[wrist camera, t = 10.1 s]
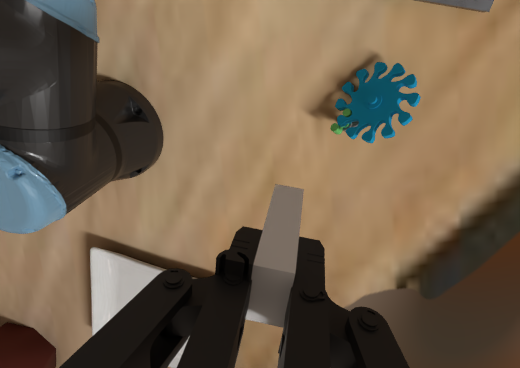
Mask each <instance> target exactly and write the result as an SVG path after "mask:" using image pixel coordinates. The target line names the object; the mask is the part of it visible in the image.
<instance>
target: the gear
mask: <svg viewBox="0 0 520 368" xmlns="http://www.w3.org/2000/svg"><path fill="white" fill-rule="evenodd" d="M386 70H387V65H386V64H385V63H382V62H377V63H376V64H375V67H374V74H373V76H372V77H371V79H370V80H369V81H368V82H366V83H365V80H366V79H367V78H368V75H369V73H368V71H367V70H366V69H361V70H359V71H357V72H356V76H357V77H358V79H359V88H358V90H357V91H356V92H353V91H354V86H353V85H352V83H351V82H347V83H346V84H345V85H344V86H343V87H342V90H343V91H344V92H345V93H346V94H349V95H351V98H352V102H351V103H350V104H348V105H347V103H346V102H345V101H344V100H343V99H338V101H337V102H336V105H335V107H336V108H337V109H338V110H340V111H341V110H344V111H343V115H344V116H343V115H339V116H338V117H337V123H338V124H336V123H334V124H332V125H331V130H332V131H333V132H334V133H336V134H341V133H342V130H343V131H345V132H346V133H347V135H348V136H349V137H350V138H352V139H355V138H356V137H357V136H358V134H359V132H360V131H361V130H362V129H364V128H365V127H367V126H371V128H370V130H369V131H367V132H365V133H364V134H363V135H362V139H363V140H364V141H366V142H368V143H373V142H374V140H375V133H376V130H377V128H378V127H379V126H380V125H381V124H382V123H386V125H385V127H384V128H383V129H382V131H381V134H382V136H383V137H384V138H391V137H394V136H395V131H394V130H393V128H392V126H391V120H392V116H393V115H394V114H396V113H398V114H399V117H398V120H399V122H400V123H401V124H402V125H403V126H405V125H407V124H408V123H409V122H410V121H411V120H412V116H411V115H410V114H409V113H407V112H404V111H402V110H401V109H400V107H399V103H400V102H401V101H402V100H407V102H408V103H409V104H410V106H412V107H415V106H417V105H418V103H419V101H420V98H421V97H420V96H419V94H418V93H411V94H403V93H401V92H399V89H400V88H401V87H403V86H406V87H408V88H414V87H416V86H417V81H416V77H415V76H414V74H411V75H408V76H407V77H406V78H404V79H403V80H400V81H396V82H391V80H392V79H393V78H394V77H398V76H402V75H403V74H404V73H405V70H404V68H403V67H402V65H400V64H399V63H397V64H395V65H394V66H393V68H392V70H391V71H390V72H389V73H388V74H387V75H386V76H384V77H383V78H381V79H378V78H379V76H380V75H381V74H383V73H384V72H386Z"/></svg>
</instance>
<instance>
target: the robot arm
mask: <svg viewBox="0 0 520 368" xmlns="http://www.w3.org/2000/svg"><path fill="white" fill-rule="evenodd" d="M99 40H100V39H99V37H98V36H97V9H96V3H95V0H0V230H2V231H6V232H10V233H18V234H26V233H32V232H35V231H38V230H40V229H42V228H44V227H45V226H47V225H49V224H50V223H52V222H54V221H57V220H59V219H62V218H63V217H64V216H65V215H66V214H67V213H68V212H70V211H71V210H73V209H74V208H75V207H77V206H78V205H79V204H81V203H82V202H83V201H85V200H86V199H87V198H89V197H90V196H92V195H93V194H94V193H96V192H97V191H98V190H100V189H101V188H102V187H104V186H105V185H106V184H108V183H109V182H111V181H116V180H122V179H127V178H132V177H135V176H138V175H140V174H142V173H143V172H145V171H146V170H147V169H149V168H150V167H151V166H152V165H153V164H154V163H155V162H156V161H157V159H158V158H159V156H160V154H161V151H162V147H163V130H162V126H161V122H160V120H159V117H158V115H157V113H156V111H155V110H154V108H153V106H152V105H151V104H150V102H149V101H148V100H147V99H146V98H145V97H144V96H143V95H142V94H141V93H140V92H138V91H137V90H135V89H134V88H132V87H131V86H129V85H126V84H124V83H121V82H118V81H111V80H104V81H98V82H97V43H99ZM303 192H304V189H300V188H294V187H289V186H283V185H278V184H276V185H275V188H274V192H273V195H272V199H271V203H270V206H269V210H268V213H267V217H266V221H265V224H264V228H263V230H259V229H254V228H249V227H244V226H243V227H242V228H241V229H239V230H238V231H237V232H236V234H235V236H234V239H233V241H232V244H231V246H230V249H229V250H225V251H223V252H221V253H219V255H218V256H217V257H216V271H215V275H213V276H211V277H208V278H198V279H192V277H191V275H190V273H188V272H187V271H185V270H182V269H178V268H176V269H168V270H165V271H163V272H161V273H160V274H158V275H157V276H156V277H155V278H154V279H153V280H152V281H151V282H150V283H149V284H148V285H146V286H145V287H144V288H143V289H142V290H141V291H140V292H139V293H138V294H137V295H136V296H135V297H134V298H133V299H132V300H131V301H129V302H128V303H127V304H126V305H125V306H124V307H123V308H122V309H121V310H120V311H119V312H118V313H117V314H116V315H115V316H114V317H112V318H111V319H110V320H109V321H108V322H107V323H106V324H105V325H104V326H103V327H102V328H101V329H100V330H99V331H98V332H96V333H95V334H94V335H93V336H92V337H91V338H90V339H89V340H88V341H87V342H86V343H85V344H84V345H83V346H82V347H81V348H79V349H78V350H77V351H76V352H75V353H74V354H73V355H72V356H71V357H70V358H69V359H68V360H67V361H66V362H65V363H64V364H62V365H61V366H60V367H59V368H167V367H168V366H169V364H170V363H171V361H172V360H173V359H174V357H175V356H176V355H177V353H178V352H179V351H180V349H181V348H182V347H183V345H184V344H185V342H186V341H187V340H188V342H187V344H186V346H185V349H184V351H183V354H182V356H181V358H180V361H179V363H178V366H177V368H234V367H235V363H236V359H237V355H238V351H239V347H240V343H241V339H242V335H243V330H244V323H245V319H247V320H252V321H256V322H261V323H265V324H270V325H274V326H279V327H283V333H282V338H281V343H280V347H279V352H278V353H279V360H278V368H330V367H331V368H409V366H408V364H407V362H406V360H405V358H404V356H403V354H402V352H401V350H400V348H399V346H398V344H397V342H396V340H395V337H394V335H393V333H392V331H391V330H390V327H389V325H388V323H387V322H386V320H385V319H384V318H383V317H382V316H381V315H380V314H379V313H378V312H376V311H374V310H372V309H370V308H367V307H356V308H354V309H352V310H351V311H348V310H346V309H344V308H342V307H340V306H338V305H336V304H335V303H334V302H333V301H331V299H330V298H329V297H328V295H327V292H326V290H325V265H324V263H325V259H324V247H323V245H322V244H321V242H320V241H319V240H314V239H309V238H304V237H299V232H300V222H301V212H302V202H303ZM189 336H190V337H189ZM188 338H189V339H188Z"/></svg>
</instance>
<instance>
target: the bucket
mask: <svg viewBox="0 0 520 368" xmlns="http://www.w3.org/2000/svg"><path fill="white" fill-rule="evenodd" d="M55 367H56V348H55V347H54V346H53V345H51V344H50V343H49V342H48V341H47V340H46V339H45V338H44V337H43V336H42V335H40V334H39V333H38V332H37V331H36V330H35V329H34V328H30V327H26V326H21V325H17V324H12V323H8V322H7V323H5V324H4V325H2V326H1V327H0V368H55Z"/></svg>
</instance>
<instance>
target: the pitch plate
mask: <svg viewBox="0 0 520 368" xmlns="http://www.w3.org/2000/svg"><path fill="white" fill-rule="evenodd" d="M415 1H421V2H427V3H433V4H438V5H444V6H450V7H456V8H461V9H467V10H473V11H479V12H489V11H490V8H491V6H492V4H493V1H494V0H415Z"/></svg>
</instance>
